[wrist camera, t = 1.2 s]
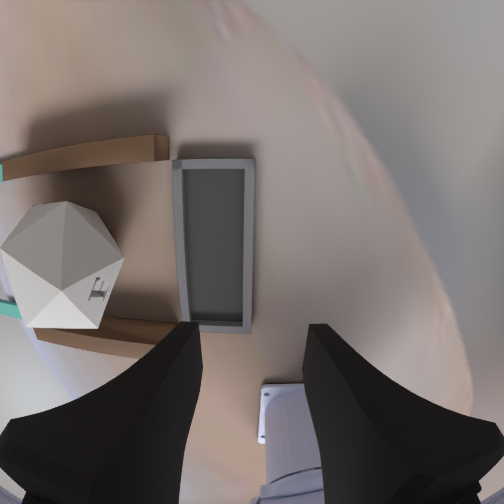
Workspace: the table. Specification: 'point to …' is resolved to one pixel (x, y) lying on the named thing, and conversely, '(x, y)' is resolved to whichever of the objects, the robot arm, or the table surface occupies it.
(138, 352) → the channel
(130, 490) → the robot arm
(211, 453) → the table surface
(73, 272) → the die
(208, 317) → the grey flat rectangular tray
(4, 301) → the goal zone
